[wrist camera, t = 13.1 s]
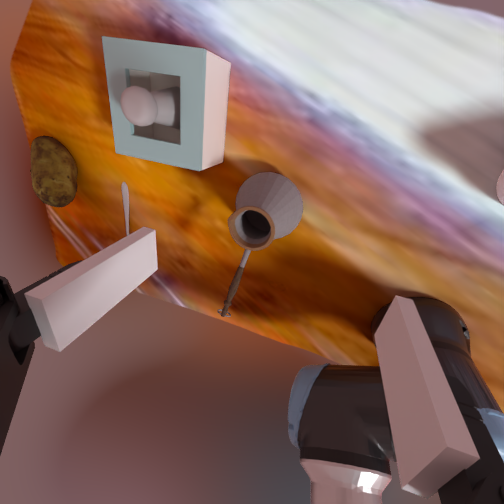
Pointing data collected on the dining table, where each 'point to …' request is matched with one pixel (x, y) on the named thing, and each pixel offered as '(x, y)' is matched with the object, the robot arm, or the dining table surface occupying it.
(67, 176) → the potato
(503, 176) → the base with upright slab
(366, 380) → the robot arm
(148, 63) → the drop box
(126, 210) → the fork
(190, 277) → the dining table surface
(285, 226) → the coffee pot
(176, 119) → the salt shaker
